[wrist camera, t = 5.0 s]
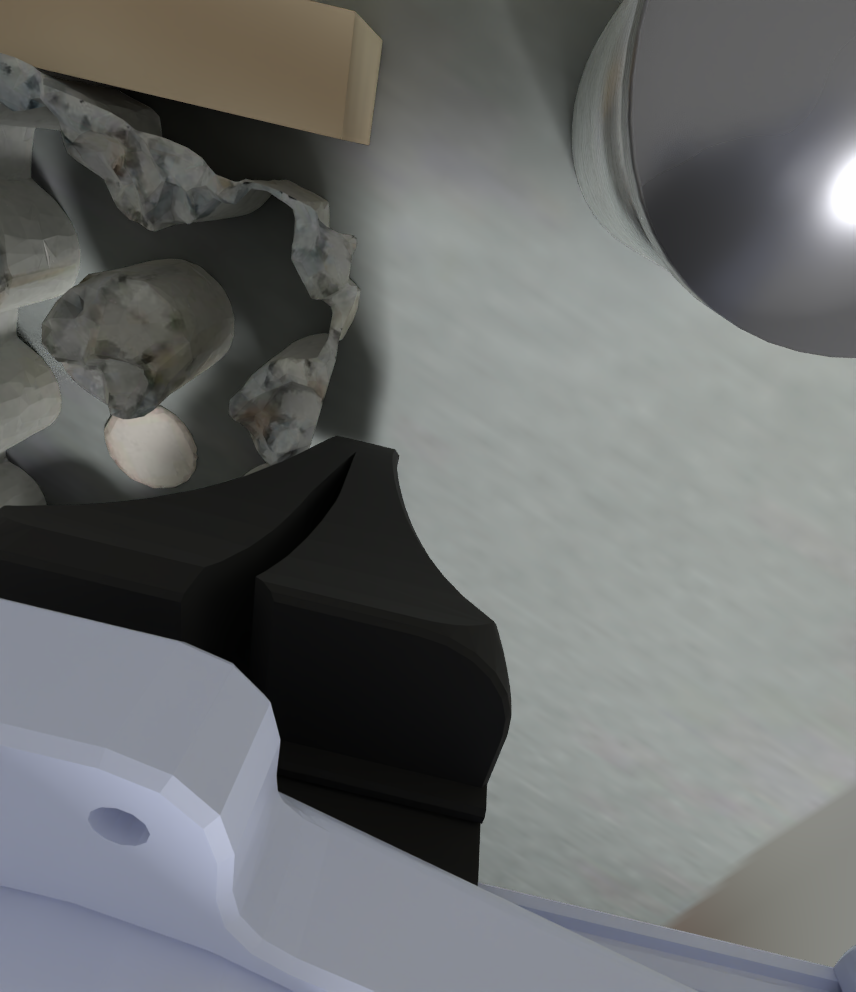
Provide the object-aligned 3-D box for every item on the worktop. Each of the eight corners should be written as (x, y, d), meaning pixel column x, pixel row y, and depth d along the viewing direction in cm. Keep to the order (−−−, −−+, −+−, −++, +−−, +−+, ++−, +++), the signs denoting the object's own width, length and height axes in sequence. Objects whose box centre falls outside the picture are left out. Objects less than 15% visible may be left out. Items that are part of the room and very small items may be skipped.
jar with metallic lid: (775, 292, 11) (1039, 408, 5) (532, 234, 11) (557, 295, 5) (932, -31, 8) (1657, -379, 3) (623, -105, 8) (822, -574, 3)
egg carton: (245, 603, 16) (172, 723, 13) (-17, 477, 15) (-175, 570, 12) (422, 243, 11) (381, 277, 8) (46, 18, 10) (-201, -61, 7)
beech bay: (286, 778, 19) (264, 838, 18) (-106, 685, 19) (-166, 735, 18) (382, 41, 10) (355, 11, 8) (-414, -147, 10) (-618, -218, 8)
